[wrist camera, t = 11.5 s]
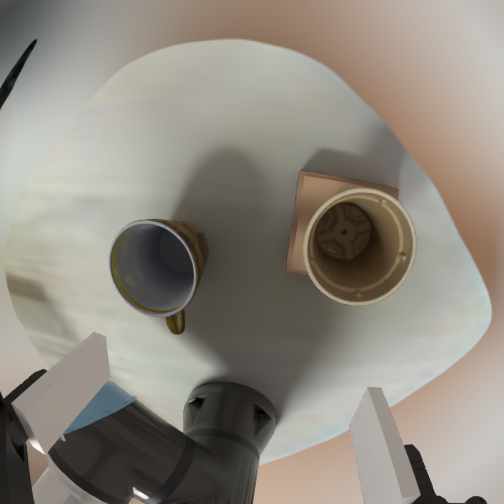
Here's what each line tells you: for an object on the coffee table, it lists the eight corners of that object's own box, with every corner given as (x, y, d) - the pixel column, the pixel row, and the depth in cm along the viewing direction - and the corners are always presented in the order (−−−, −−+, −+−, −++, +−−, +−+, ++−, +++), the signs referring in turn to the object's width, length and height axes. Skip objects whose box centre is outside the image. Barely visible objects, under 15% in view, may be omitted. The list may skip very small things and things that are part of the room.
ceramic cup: (140, 219, 36) (96, 233, 27) (210, 199, 35) (180, 208, 25) (168, 309, 39) (136, 345, 29) (236, 298, 37) (218, 337, 28)
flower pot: (304, 180, 29) (310, 180, 21) (390, 192, 28) (424, 198, 20) (295, 268, 31) (296, 300, 23) (377, 276, 30) (403, 309, 22)
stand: (371, 274, 34) (380, 286, 30) (286, 262, 35) (285, 272, 31) (388, 187, 31) (399, 188, 28) (299, 171, 32) (300, 170, 29)
